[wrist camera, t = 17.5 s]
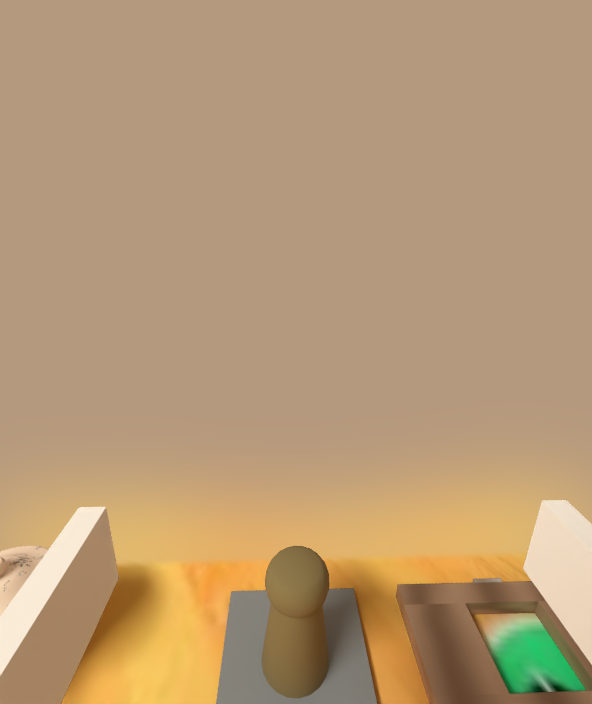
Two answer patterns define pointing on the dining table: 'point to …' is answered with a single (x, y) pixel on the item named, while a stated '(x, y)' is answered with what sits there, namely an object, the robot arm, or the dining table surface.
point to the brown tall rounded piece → (296, 623)
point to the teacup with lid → (17, 570)
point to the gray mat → (247, 646)
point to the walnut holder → (479, 641)
